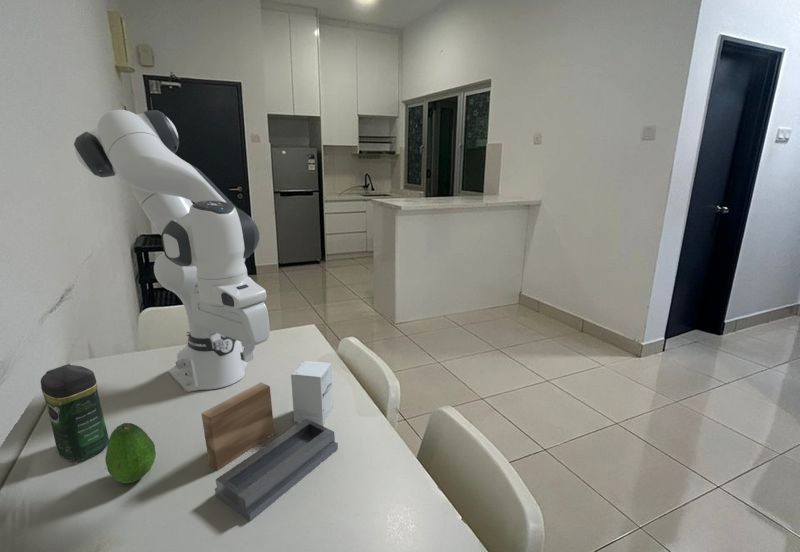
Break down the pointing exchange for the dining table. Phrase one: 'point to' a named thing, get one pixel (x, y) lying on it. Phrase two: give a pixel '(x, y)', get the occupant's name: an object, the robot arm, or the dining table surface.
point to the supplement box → (312, 391)
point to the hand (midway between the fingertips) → (232, 354)
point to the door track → (275, 468)
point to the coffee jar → (75, 412)
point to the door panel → (238, 425)
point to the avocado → (129, 453)
